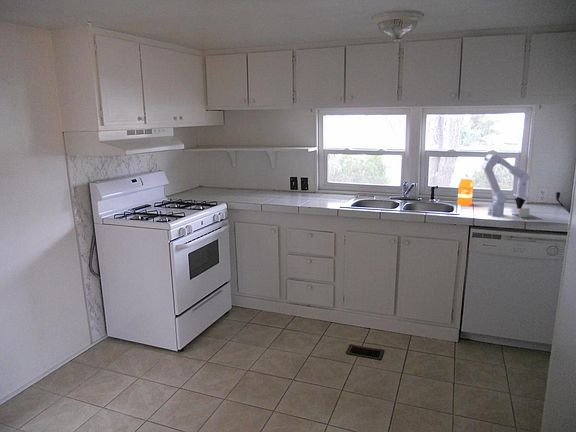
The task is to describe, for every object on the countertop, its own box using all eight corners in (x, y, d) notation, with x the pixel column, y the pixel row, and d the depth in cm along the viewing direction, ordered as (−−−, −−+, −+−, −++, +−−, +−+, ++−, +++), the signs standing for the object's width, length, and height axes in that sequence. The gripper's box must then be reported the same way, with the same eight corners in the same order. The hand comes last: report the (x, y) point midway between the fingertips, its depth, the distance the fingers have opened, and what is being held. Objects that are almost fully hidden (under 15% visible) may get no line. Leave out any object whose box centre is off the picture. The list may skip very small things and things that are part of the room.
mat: (525, 220, 294) (525, 219, 294) (511, 214, 310) (511, 214, 310) (542, 219, 295) (542, 219, 295) (527, 214, 311) (527, 213, 311)
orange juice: (460, 202, 353) (462, 178, 348) (471, 204, 347) (473, 179, 343) (457, 204, 347) (459, 179, 342) (468, 205, 341) (470, 180, 337)
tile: (520, 217, 300) (521, 208, 299) (519, 216, 302) (519, 208, 301) (529, 217, 300) (530, 208, 299) (527, 216, 302) (528, 208, 301)
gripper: (533, 191, 296) (531, 210, 300) (520, 187, 311) (518, 206, 314) (523, 191, 296) (521, 210, 299) (511, 187, 310) (509, 206, 313)
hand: (519, 208), depth 306 cm, fingers closed
